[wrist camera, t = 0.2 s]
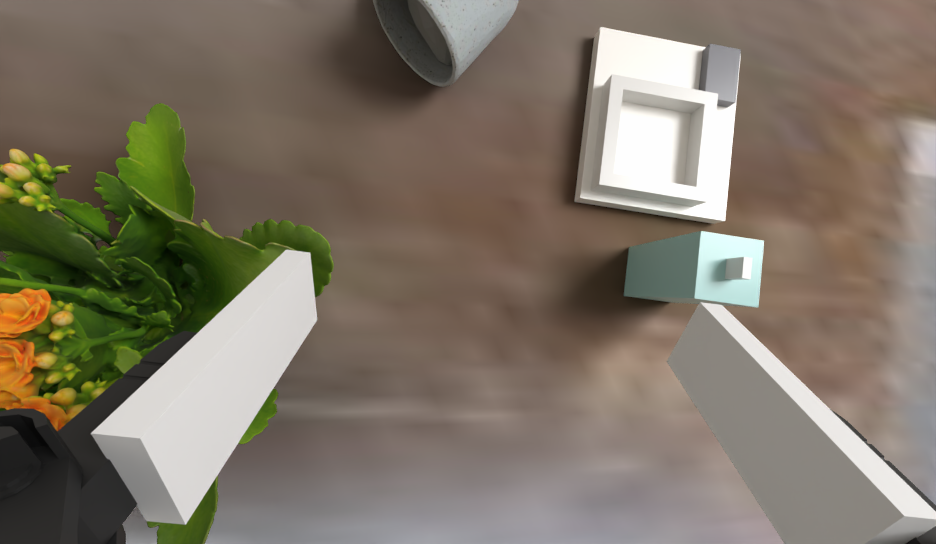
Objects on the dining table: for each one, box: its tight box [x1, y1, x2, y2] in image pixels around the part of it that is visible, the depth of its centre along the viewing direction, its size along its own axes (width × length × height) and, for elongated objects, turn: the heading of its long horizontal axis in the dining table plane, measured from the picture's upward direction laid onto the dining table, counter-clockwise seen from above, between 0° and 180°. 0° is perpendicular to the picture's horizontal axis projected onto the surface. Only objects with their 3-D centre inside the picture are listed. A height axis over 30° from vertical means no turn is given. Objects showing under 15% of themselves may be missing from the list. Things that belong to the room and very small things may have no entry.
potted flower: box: [0, 103, 334, 544], centre depth 17 cm, size 25×24×18 cm
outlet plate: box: [574, 27, 741, 224], centre depth 28 cm, size 14×12×3 cm
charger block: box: [624, 231, 764, 307], centre depth 24 cm, size 4×4×9 cm
